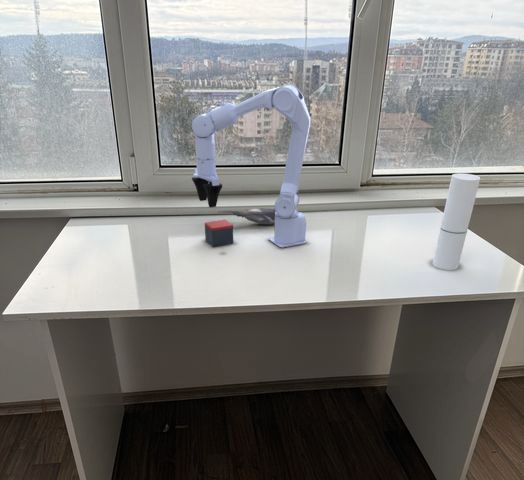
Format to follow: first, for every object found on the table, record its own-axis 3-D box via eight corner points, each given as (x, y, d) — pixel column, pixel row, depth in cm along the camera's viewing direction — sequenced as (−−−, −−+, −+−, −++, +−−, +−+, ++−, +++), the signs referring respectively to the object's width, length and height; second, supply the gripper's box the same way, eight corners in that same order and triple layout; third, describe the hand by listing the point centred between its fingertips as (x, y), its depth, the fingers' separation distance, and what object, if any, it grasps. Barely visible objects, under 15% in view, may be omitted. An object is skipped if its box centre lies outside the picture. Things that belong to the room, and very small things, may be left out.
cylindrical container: (458, 262, 146) (480, 175, 132) (458, 271, 140) (480, 181, 127) (433, 258, 148) (452, 172, 134) (431, 267, 142) (451, 178, 128)
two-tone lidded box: (225, 237, 160) (225, 219, 156) (233, 243, 155) (233, 225, 152) (205, 240, 157) (204, 222, 154) (212, 247, 152) (212, 228, 149)
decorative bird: (291, 226, 170) (292, 211, 167) (219, 228, 167) (218, 214, 164) (287, 220, 175) (288, 206, 173) (217, 222, 172) (217, 208, 169)
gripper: (184, 154, 152) (187, 199, 159) (202, 164, 141) (204, 211, 148) (205, 152, 155) (207, 196, 162) (225, 162, 144) (226, 208, 151)
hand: (207, 203), depth 155 cm, fingers open, 7 cm apart
